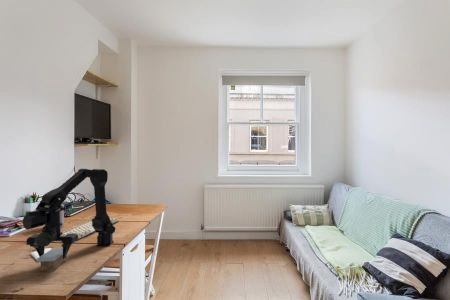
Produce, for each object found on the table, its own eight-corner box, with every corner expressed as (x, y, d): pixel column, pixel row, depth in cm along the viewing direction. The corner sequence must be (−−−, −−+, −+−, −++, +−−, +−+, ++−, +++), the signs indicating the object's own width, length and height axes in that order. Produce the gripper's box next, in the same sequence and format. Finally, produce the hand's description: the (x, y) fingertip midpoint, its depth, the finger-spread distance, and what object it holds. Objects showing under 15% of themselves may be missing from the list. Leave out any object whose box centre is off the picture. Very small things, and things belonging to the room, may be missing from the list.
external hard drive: (50, 250, 133) (58, 257, 124) (30, 255, 126) (38, 263, 118) (50, 247, 132) (58, 254, 124) (30, 252, 126) (38, 259, 118)
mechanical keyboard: (82, 242, 143) (82, 236, 143) (50, 241, 146) (50, 234, 146) (120, 222, 181) (119, 217, 181) (94, 221, 183) (94, 216, 183)
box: (64, 261, 118) (64, 251, 118) (53, 271, 110) (53, 260, 109) (53, 262, 118) (53, 252, 118) (40, 271, 109) (40, 260, 109)
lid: (67, 251, 119) (67, 248, 119) (53, 261, 109) (53, 258, 109) (52, 251, 119) (52, 248, 119) (37, 261, 108) (37, 258, 108)
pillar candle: (42, 228, 165) (42, 204, 165) (58, 224, 174) (58, 201, 174) (51, 231, 161) (51, 206, 160) (67, 226, 169) (67, 203, 169)
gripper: (16, 228, 105) (16, 268, 105) (64, 228, 106) (64, 267, 106) (35, 220, 116) (35, 256, 116) (78, 220, 117) (79, 255, 117)
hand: (53, 258), depth 114 cm, fingers open, 9 cm apart
